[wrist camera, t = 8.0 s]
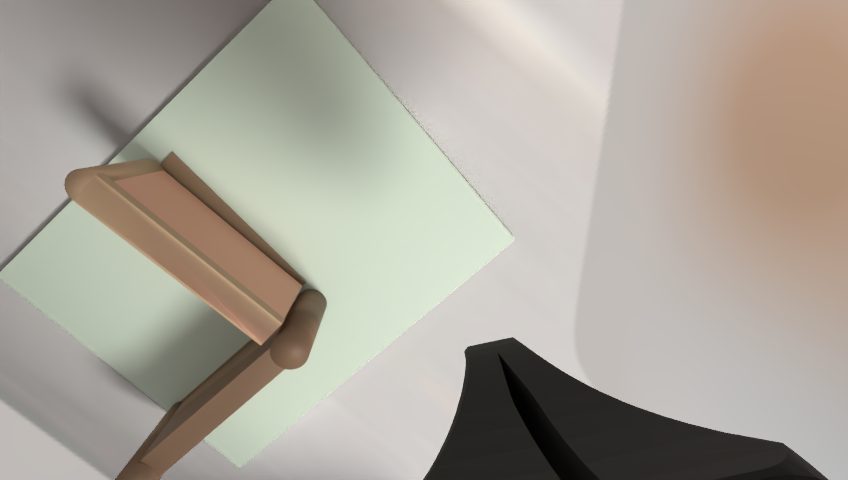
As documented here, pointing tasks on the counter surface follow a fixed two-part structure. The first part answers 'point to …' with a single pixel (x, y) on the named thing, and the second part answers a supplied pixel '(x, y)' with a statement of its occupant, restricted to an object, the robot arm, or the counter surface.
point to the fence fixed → (229, 389)
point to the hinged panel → (187, 242)
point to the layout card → (273, 224)
